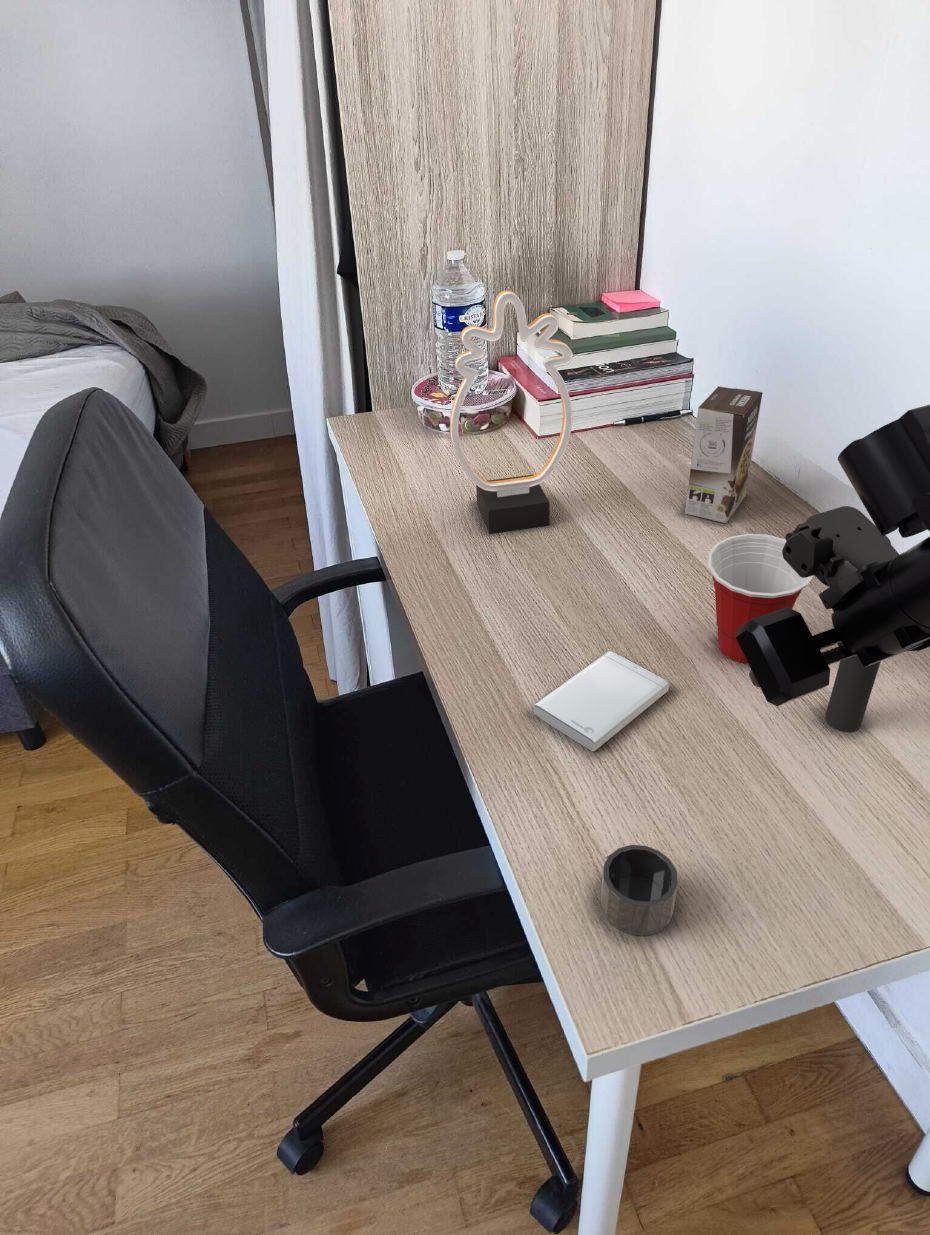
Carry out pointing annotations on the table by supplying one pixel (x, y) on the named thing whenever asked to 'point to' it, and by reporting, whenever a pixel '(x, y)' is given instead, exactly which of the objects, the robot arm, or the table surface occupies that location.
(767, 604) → the plastic cup
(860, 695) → the orange-capped black cylinder
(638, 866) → the socket
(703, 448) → the coffee box
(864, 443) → the robot arm
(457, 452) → the lamp
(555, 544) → the table surface
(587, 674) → the hard drive
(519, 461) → the table surface
